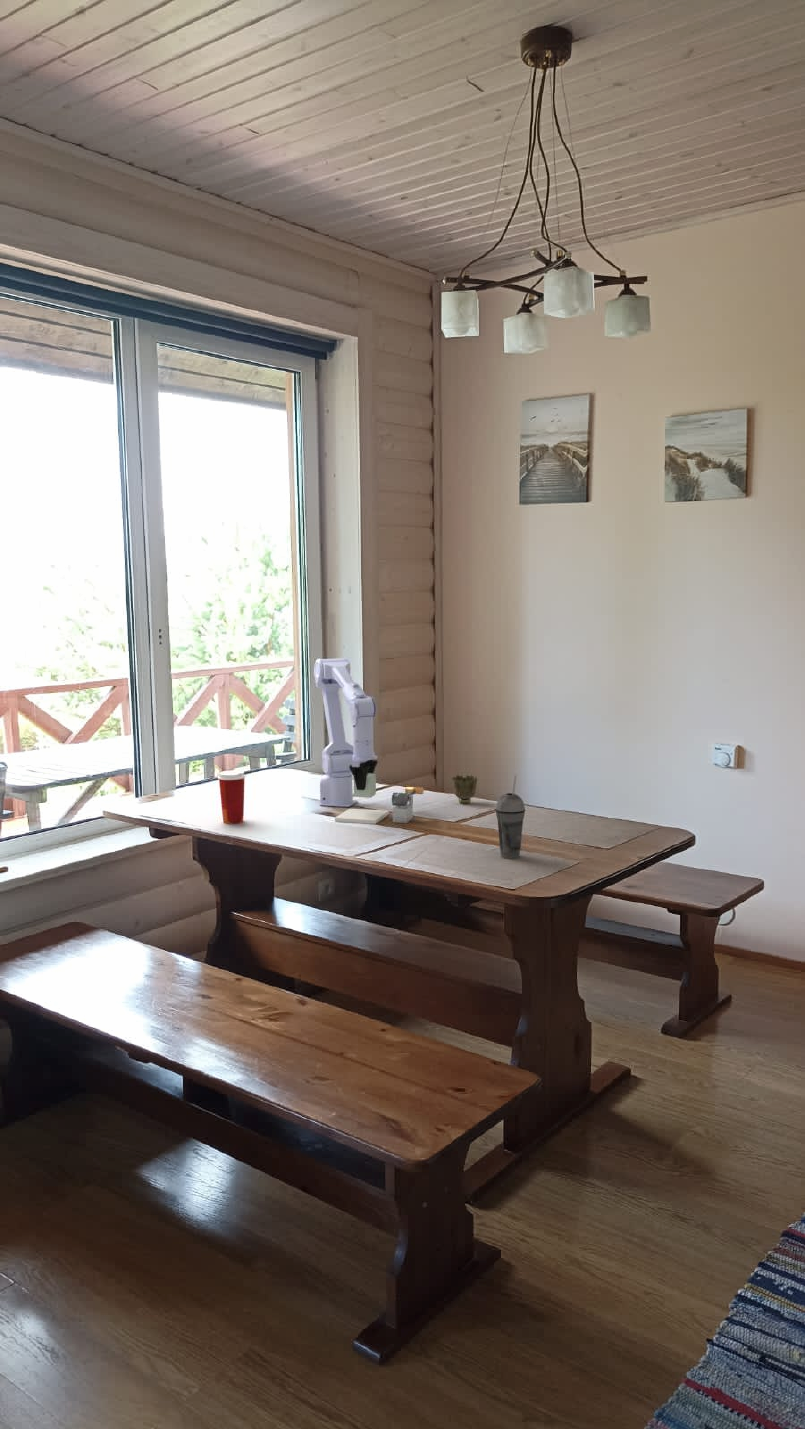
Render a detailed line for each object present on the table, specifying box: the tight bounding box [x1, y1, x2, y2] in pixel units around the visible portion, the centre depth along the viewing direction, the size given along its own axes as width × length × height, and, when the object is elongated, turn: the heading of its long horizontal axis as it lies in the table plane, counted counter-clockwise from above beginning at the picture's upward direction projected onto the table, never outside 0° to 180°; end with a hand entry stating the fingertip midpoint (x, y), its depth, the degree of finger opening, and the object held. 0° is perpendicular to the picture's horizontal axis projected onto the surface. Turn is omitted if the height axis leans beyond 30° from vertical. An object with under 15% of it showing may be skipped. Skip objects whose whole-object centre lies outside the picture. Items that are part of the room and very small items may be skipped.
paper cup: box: [217, 769, 246, 825], centre depth 282 cm, size 8×8×14 cm
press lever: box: [391, 786, 425, 807], centre depth 285 cm, size 5×17×4 cm, turn 163°
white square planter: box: [392, 794, 414, 824], centre depth 281 cm, size 4×6×7 cm
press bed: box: [334, 807, 390, 825], centre depth 285 cm, size 12×12×1 cm
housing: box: [353, 773, 377, 799], centre depth 285 cm, size 5×5×6 cm
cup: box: [452, 774, 478, 805], centre depth 302 cm, size 8×7×8 cm
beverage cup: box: [494, 775, 526, 860], centre depth 243 cm, size 7×7×20 cm
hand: (364, 787), depth 285 cm, fingers closed on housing, 5 cm apart
